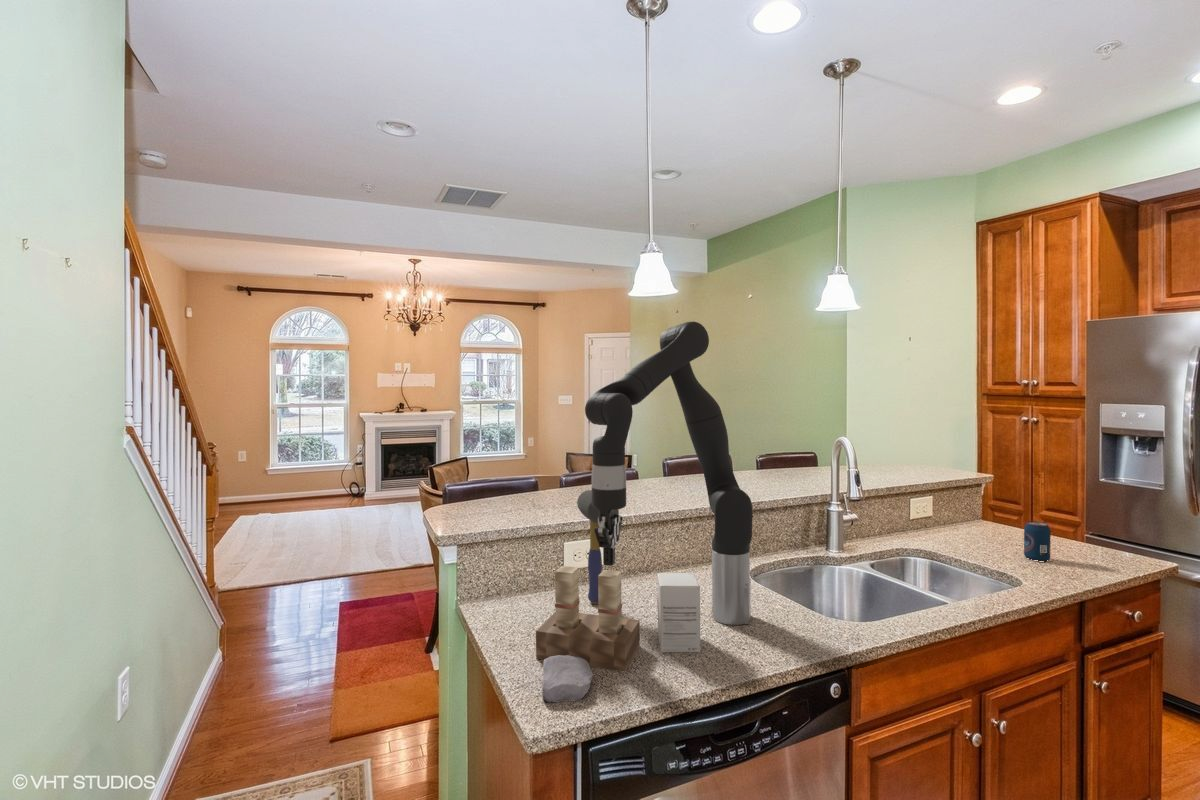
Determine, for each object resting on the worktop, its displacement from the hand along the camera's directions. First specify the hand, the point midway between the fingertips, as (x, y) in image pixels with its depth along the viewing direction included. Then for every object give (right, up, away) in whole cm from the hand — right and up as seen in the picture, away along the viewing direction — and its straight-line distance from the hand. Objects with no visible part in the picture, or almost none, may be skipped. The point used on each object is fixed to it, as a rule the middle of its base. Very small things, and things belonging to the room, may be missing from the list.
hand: (609, 564), depth 126 cm
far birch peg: (-9, -15, +3) cm, 18 cm away
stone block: (-8, -21, -12) cm, 25 cm away
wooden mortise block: (-4, -20, +2) cm, 21 cm away
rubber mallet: (-3, -19, +31) cm, 37 cm away
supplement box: (+16, -20, +6) cm, 26 cm away
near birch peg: (0, -15, 0) cm, 15 cm away
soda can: (+141, -17, +64) cm, 156 cm away
